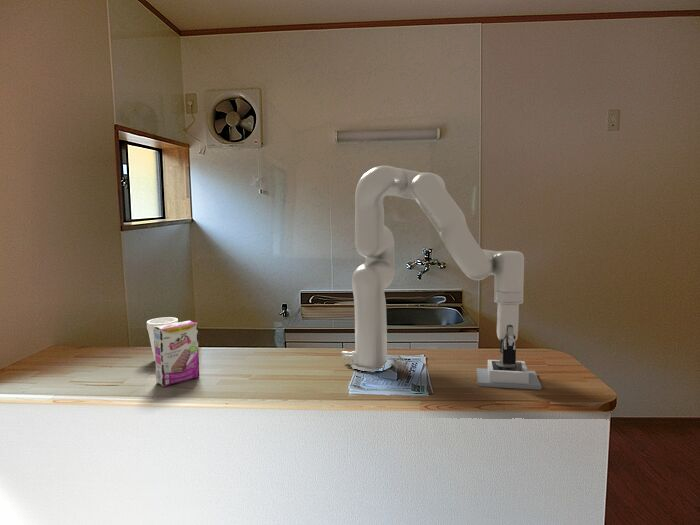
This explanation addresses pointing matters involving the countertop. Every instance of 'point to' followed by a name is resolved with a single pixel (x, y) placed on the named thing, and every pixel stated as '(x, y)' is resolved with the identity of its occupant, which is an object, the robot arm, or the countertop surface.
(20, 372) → the countertop surface
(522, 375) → the holder
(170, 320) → the foam cup
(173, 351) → the candy bar box
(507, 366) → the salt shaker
